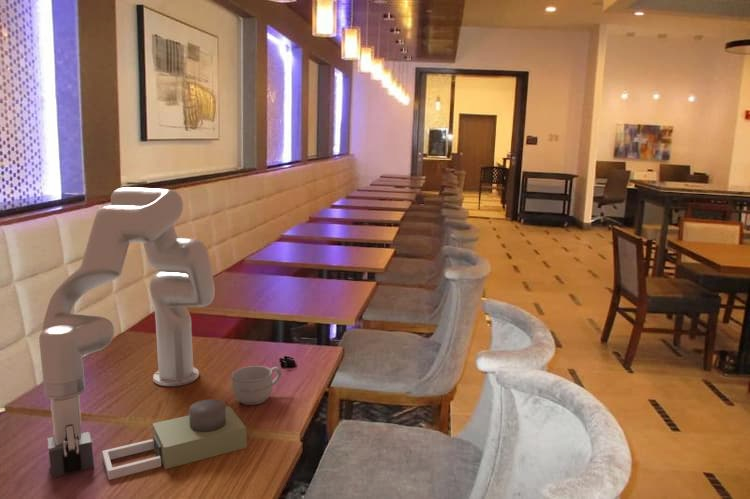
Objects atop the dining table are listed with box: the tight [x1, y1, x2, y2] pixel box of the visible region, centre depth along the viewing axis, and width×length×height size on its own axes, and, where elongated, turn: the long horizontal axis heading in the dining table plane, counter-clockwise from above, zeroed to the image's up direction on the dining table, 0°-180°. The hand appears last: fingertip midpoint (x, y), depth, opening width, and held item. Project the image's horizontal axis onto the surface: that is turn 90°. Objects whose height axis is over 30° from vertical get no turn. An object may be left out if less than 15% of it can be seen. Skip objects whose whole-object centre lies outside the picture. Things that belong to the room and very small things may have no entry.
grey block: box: [47, 431, 95, 479], centre depth 129 cm, size 5×8×7 cm, turn 121°
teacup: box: [231, 365, 283, 406], centre depth 162 cm, size 14×11×8 cm
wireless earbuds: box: [278, 355, 296, 368], centre depth 185 cm, size 7×2×5 cm
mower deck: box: [101, 398, 248, 481], centre depth 135 cm, size 12×29×9 cm, turn 121°
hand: (71, 463), depth 129 cm, fingers closed on grey block, 5 cm apart
